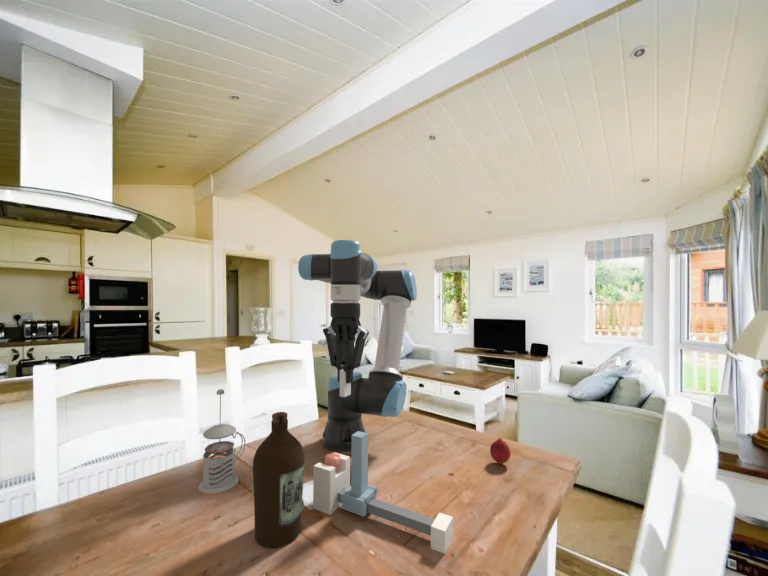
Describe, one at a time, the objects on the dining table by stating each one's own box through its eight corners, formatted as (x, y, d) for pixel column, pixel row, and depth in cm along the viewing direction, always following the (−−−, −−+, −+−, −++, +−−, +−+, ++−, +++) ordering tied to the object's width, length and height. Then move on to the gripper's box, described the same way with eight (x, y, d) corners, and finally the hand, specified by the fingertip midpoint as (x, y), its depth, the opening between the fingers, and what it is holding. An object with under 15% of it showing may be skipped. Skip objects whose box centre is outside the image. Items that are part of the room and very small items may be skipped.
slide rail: (313, 508, 81) (313, 465, 81) (333, 491, 88) (334, 452, 88) (442, 559, 65) (442, 506, 66) (455, 533, 72) (455, 486, 73)
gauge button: (321, 468, 82) (321, 458, 83) (330, 462, 86) (331, 452, 86) (333, 472, 81) (333, 461, 81) (342, 465, 84) (342, 455, 84)
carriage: (340, 509, 78) (341, 436, 78) (356, 495, 83) (356, 427, 84) (362, 518, 75) (363, 442, 75) (377, 502, 81) (377, 432, 81)
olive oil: (240, 539, 70) (242, 417, 71) (278, 510, 80) (280, 403, 80) (277, 558, 65) (279, 427, 66) (314, 525, 75) (315, 411, 75)
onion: (511, 470, 99) (511, 442, 99) (491, 467, 100) (491, 440, 100) (508, 460, 105) (508, 434, 105) (489, 458, 106) (489, 432, 106)
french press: (192, 483, 91) (194, 389, 92) (235, 467, 100) (237, 381, 100) (206, 498, 84) (208, 397, 85) (251, 480, 93) (252, 387, 93)
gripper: (315, 301, 86) (315, 395, 86) (358, 302, 80) (358, 404, 79) (334, 301, 93) (334, 387, 92) (375, 301, 86) (375, 395, 86)
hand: (345, 395), depth 86 cm, fingers closed
